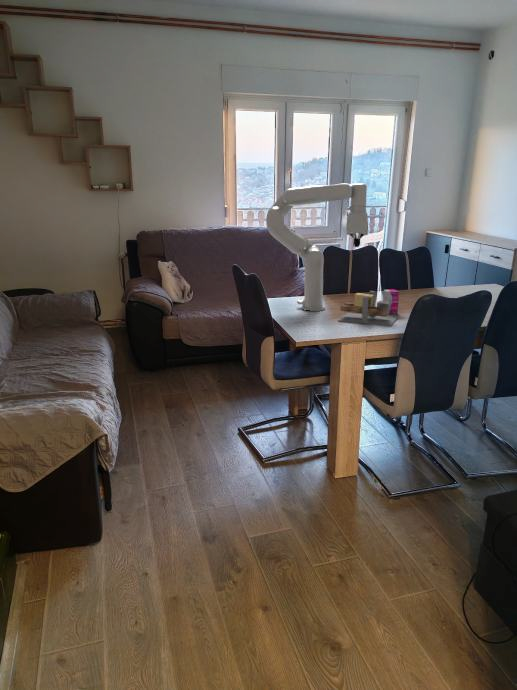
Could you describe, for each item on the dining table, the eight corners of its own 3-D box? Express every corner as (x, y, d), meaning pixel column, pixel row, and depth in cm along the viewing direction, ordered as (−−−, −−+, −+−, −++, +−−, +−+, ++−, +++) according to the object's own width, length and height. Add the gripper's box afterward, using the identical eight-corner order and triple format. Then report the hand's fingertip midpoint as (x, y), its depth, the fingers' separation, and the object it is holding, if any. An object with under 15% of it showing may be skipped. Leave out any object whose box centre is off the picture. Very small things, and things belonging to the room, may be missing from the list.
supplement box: (387, 314, 256) (388, 291, 253) (381, 311, 262) (383, 289, 259) (398, 313, 258) (399, 291, 254) (392, 311, 263) (393, 289, 260)
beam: (340, 310, 248) (341, 295, 246) (343, 307, 254) (345, 292, 251) (386, 317, 240) (387, 301, 237) (388, 314, 245) (390, 298, 243)
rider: (353, 308, 246) (355, 294, 244) (355, 307, 250) (357, 292, 248) (370, 311, 243) (371, 296, 241) (372, 309, 247) (373, 294, 245)
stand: (337, 321, 245) (338, 295, 241) (347, 313, 260) (348, 289, 256) (390, 326, 235) (392, 299, 231) (397, 317, 250) (399, 292, 246)
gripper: (341, 209, 255) (340, 247, 260) (371, 209, 249) (369, 248, 254) (345, 209, 261) (344, 245, 267) (374, 209, 255) (373, 246, 261)
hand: (356, 246), depth 261 cm, fingers closed
